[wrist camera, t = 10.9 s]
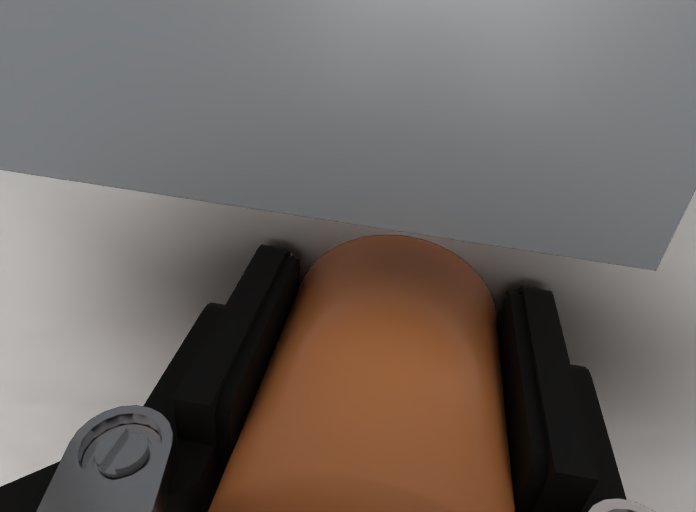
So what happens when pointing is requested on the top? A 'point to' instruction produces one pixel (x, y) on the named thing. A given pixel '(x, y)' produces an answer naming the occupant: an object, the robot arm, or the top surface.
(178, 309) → the top surface
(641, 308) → the top surface
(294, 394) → the cap
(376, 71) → the breaker board
